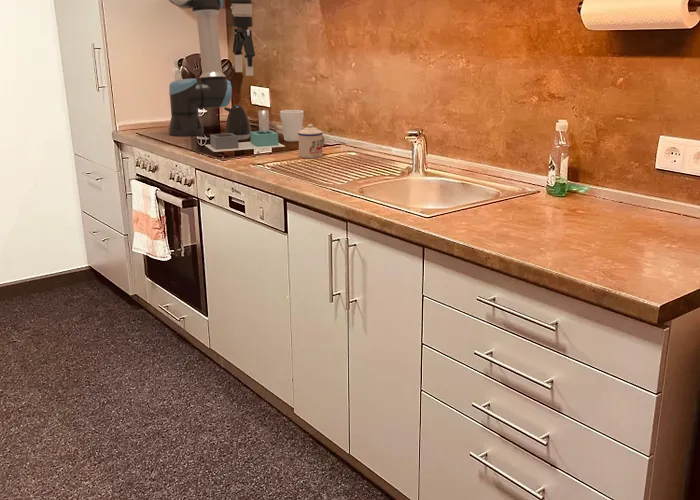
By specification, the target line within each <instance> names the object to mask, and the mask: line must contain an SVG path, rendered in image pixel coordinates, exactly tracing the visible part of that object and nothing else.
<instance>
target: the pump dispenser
mask: <svg viewBox="0 0 700 500" xmlns="http://www.w3.org/2000/svg"><path fill="white" fill-rule="evenodd" d="M223 109H224V111H227V112H228V114H227V119H226V123H225V134H226V133H233V134H235V135H236V136H238V141H244V140H248V139H250V138H251V136H250V132H252V131H251V130H252V129H251V124H250V120H249V117H248V115H247V112H246V110H245V109H244V107H243V106H242V105H240V104H234V105H232V107H227V106H226V107H223Z"/></svg>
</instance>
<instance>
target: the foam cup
mask: <svg viewBox="0 0 700 500" xmlns="http://www.w3.org/2000/svg"><path fill="white" fill-rule="evenodd" d="M304 113H305V111H304V110H301V109H283V110H280V111H279V114H280V115H279V116H280V117H279V118H280V120H281V128H282V134H283V139H284V141H286V142H299V135H298V132H299V131H300V130H303V124H304V123H303V122H304V116H305V115H304Z"/></svg>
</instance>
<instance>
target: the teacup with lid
mask: <svg viewBox="0 0 700 500" xmlns="http://www.w3.org/2000/svg"><path fill="white" fill-rule="evenodd" d="M323 134H324V133H323V131H322V130H320V129H318V128H317V127H314V125H313V124H310V123H309V124H307V127H304V128H302V130H300V131H299V132H298V135H299V141H298V156H299V157H300V158H304V159H318V158H321V157H322V156H323V147H324V144H325V136H324V135H323Z"/></svg>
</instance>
